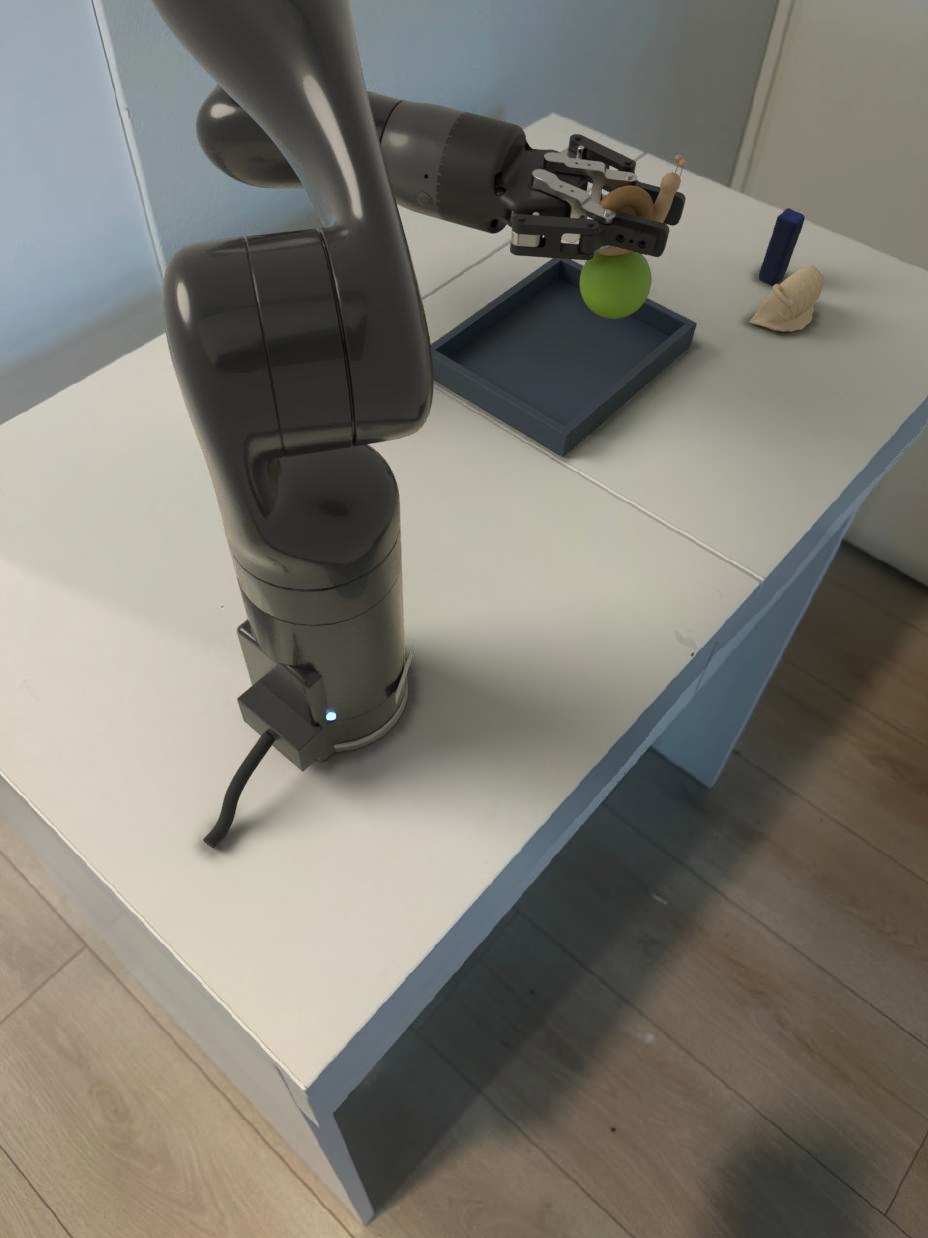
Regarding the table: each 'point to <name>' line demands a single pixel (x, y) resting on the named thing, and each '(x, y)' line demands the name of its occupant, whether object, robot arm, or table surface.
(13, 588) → the table surface
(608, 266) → the snail figurine
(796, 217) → the eraser
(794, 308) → the beige curved piece
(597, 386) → the tray
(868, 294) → the table surface
